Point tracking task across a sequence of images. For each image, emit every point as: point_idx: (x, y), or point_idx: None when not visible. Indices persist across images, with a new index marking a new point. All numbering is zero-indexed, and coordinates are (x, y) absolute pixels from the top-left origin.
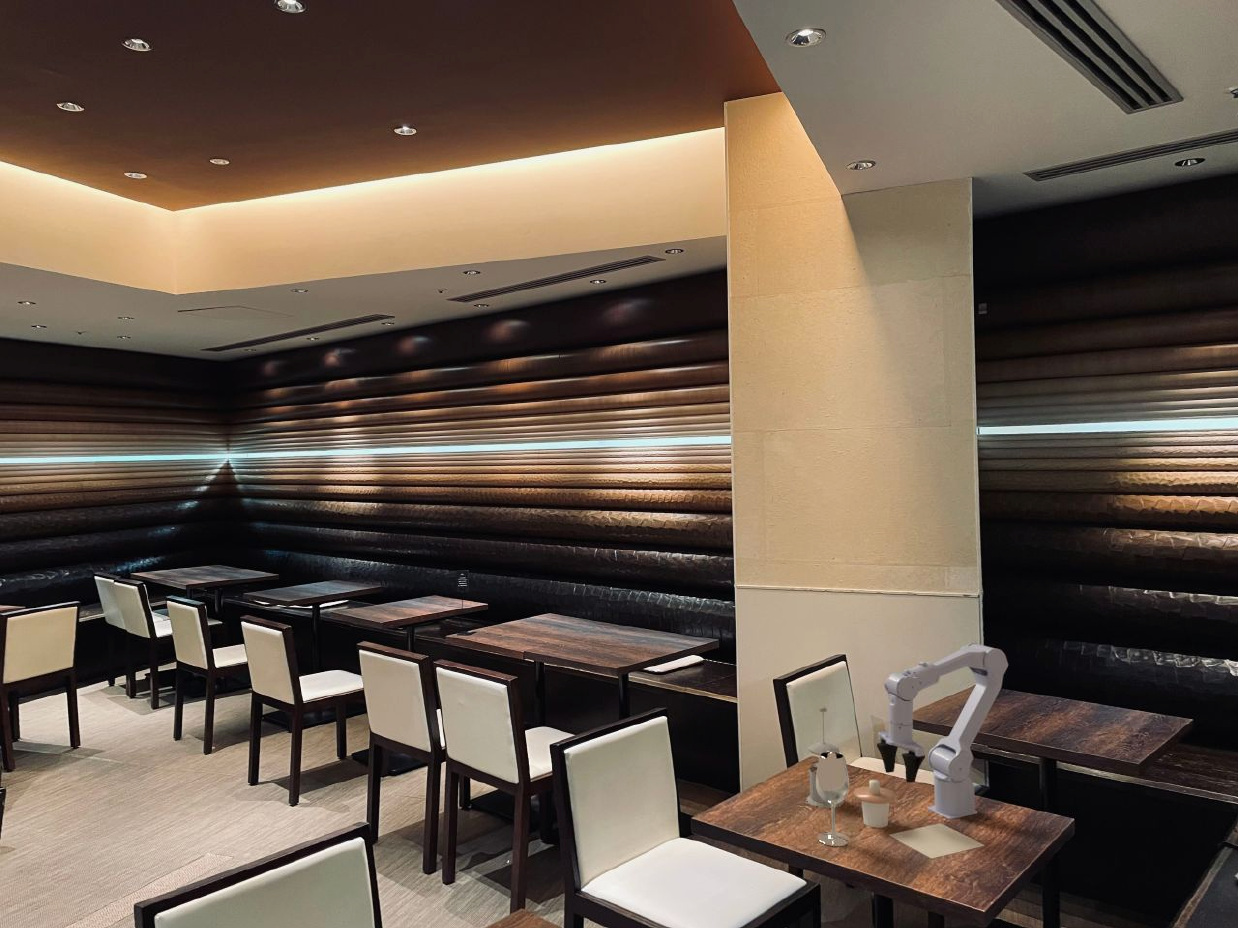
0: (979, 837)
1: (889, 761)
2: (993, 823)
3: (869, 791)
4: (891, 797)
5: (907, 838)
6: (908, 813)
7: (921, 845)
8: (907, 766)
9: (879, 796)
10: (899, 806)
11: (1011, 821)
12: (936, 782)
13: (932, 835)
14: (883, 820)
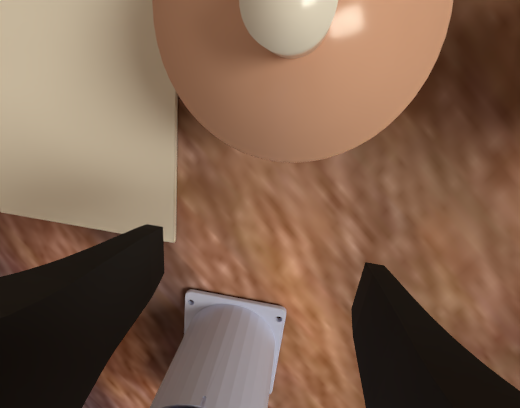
0: (63, 251)
1: (379, 345)
2: (123, 348)
3: (346, 17)
4: (186, 68)
5: (118, 32)
6: (298, 236)
7: (50, 29)
8: (40, 274)
9: (237, 6)
10: (360, 261)
11: (116, 384)
12: (218, 393)
13: (107, 140)
14: None
